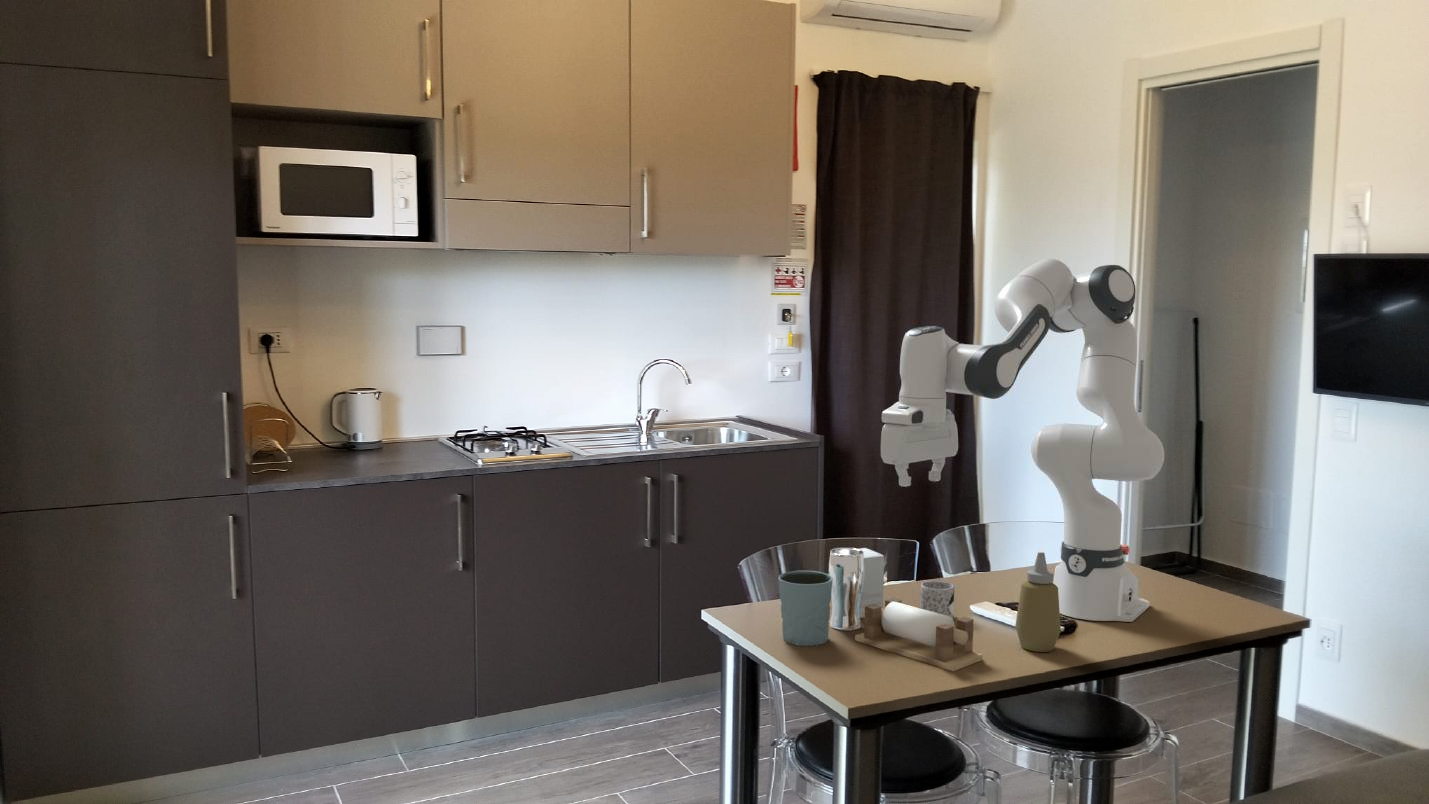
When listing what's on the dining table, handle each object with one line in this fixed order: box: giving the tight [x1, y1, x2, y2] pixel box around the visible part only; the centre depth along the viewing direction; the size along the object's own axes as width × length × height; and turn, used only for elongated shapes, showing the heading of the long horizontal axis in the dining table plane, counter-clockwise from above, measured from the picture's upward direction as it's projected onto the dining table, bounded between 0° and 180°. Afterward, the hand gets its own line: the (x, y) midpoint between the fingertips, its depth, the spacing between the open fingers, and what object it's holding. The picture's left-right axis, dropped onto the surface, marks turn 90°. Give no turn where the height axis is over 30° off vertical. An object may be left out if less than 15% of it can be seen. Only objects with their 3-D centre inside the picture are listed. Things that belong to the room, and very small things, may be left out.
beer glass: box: [828, 547, 865, 632], centre depth 207 cm, size 7×7×15 cm
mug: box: [919, 580, 955, 620], centre depth 216 cm, size 10×7×7 cm
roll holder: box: [854, 597, 983, 672], centre depth 194 cm, size 22×9×7 cm, turn 43°
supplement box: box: [858, 547, 885, 619], centre depth 216 cm, size 7×7×13 cm
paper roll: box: [881, 602, 968, 647], centre depth 194 cm, size 20×6×6 cm, turn 43°
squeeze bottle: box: [1015, 551, 1062, 653], centre depth 195 cm, size 8×8×18 cm
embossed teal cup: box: [777, 570, 833, 647], centre depth 199 cm, size 10×10×12 cm
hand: (919, 483), depth 202 cm, fingers open, 8 cm apart
